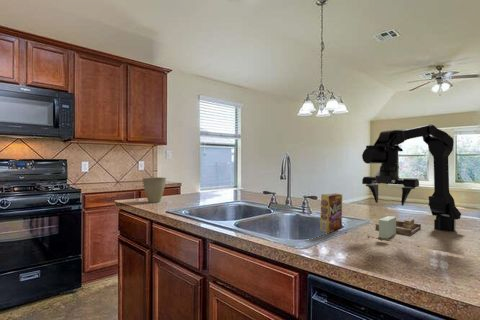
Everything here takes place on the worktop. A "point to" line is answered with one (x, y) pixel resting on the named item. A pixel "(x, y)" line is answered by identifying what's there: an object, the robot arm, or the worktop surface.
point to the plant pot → (154, 188)
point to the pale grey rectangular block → (387, 226)
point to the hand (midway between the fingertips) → (389, 204)
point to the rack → (402, 230)
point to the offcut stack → (409, 224)
